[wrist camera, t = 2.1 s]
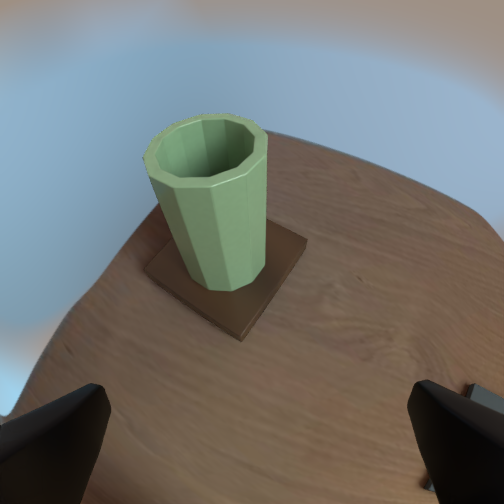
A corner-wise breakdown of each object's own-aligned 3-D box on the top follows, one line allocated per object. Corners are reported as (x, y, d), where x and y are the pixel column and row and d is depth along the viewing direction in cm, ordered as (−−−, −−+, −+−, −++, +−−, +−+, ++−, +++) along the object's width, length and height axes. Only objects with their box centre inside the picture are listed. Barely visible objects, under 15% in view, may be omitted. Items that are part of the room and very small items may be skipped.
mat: (486, 502, 10) (491, 503, 9) (423, 488, 13) (428, 490, 12) (523, 412, 14) (528, 411, 13) (469, 384, 17) (474, 383, 17)
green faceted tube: (234, 306, 21) (213, 207, 12) (169, 264, 23) (121, 162, 14) (280, 244, 24) (290, 132, 15) (217, 211, 26) (199, 105, 17)
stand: (241, 342, 21) (234, 313, 16) (149, 277, 24) (120, 234, 19) (305, 248, 25) (316, 199, 20) (216, 203, 29) (207, 153, 23)
